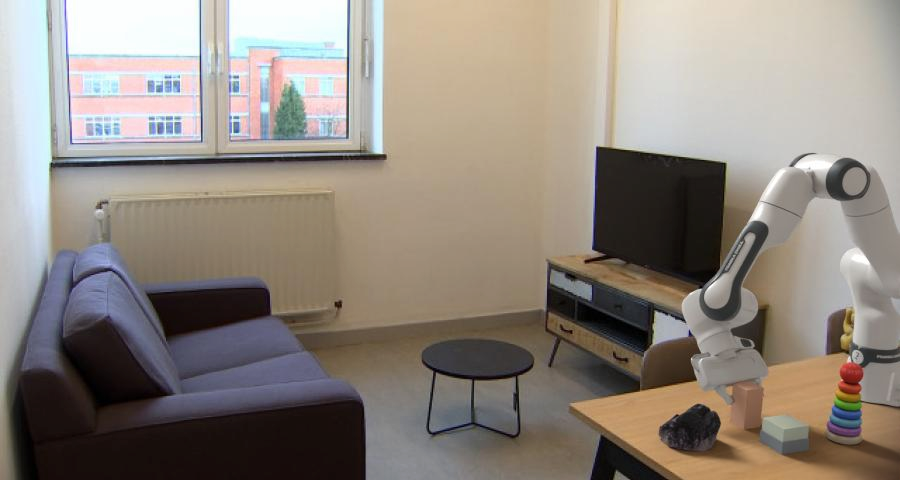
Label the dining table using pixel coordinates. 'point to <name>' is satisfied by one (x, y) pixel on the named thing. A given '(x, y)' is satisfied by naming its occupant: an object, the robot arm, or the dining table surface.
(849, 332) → the decorative figurine
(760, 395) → the terracotta brick
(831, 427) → the stacking toy
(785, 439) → the two-tone pastel block
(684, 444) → the crystal cluster
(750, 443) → the dining table surface
